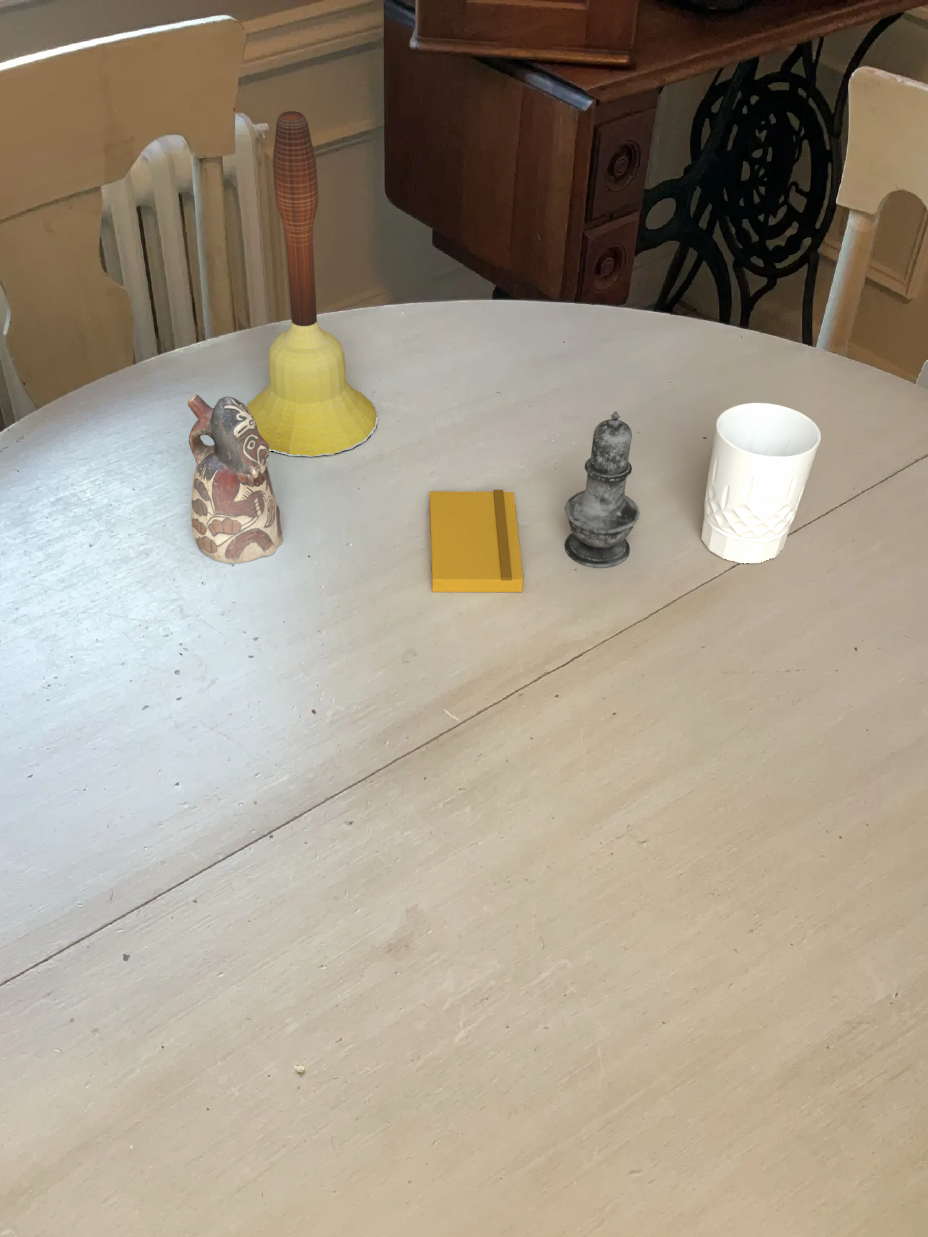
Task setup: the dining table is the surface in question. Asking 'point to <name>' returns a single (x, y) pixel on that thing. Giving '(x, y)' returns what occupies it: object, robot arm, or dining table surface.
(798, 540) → the dining table surface
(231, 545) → the figurine
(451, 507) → the yellow strapped notebook
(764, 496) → the white cup
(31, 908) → the dining table surface
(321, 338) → the handbell
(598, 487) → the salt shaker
